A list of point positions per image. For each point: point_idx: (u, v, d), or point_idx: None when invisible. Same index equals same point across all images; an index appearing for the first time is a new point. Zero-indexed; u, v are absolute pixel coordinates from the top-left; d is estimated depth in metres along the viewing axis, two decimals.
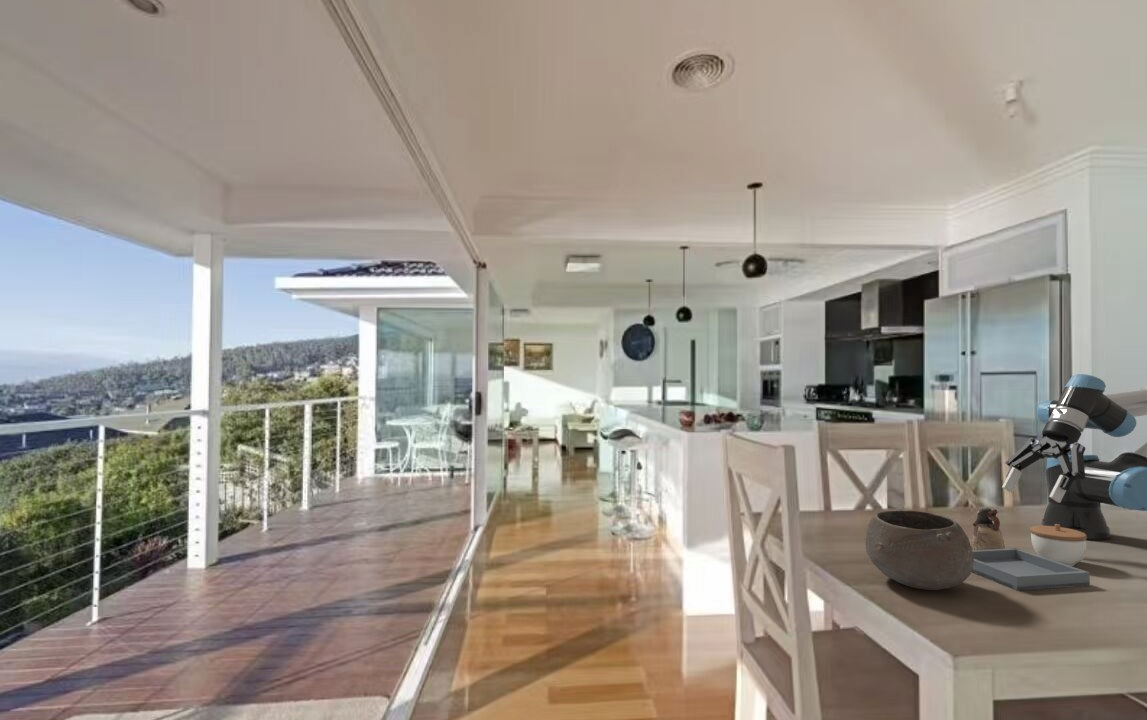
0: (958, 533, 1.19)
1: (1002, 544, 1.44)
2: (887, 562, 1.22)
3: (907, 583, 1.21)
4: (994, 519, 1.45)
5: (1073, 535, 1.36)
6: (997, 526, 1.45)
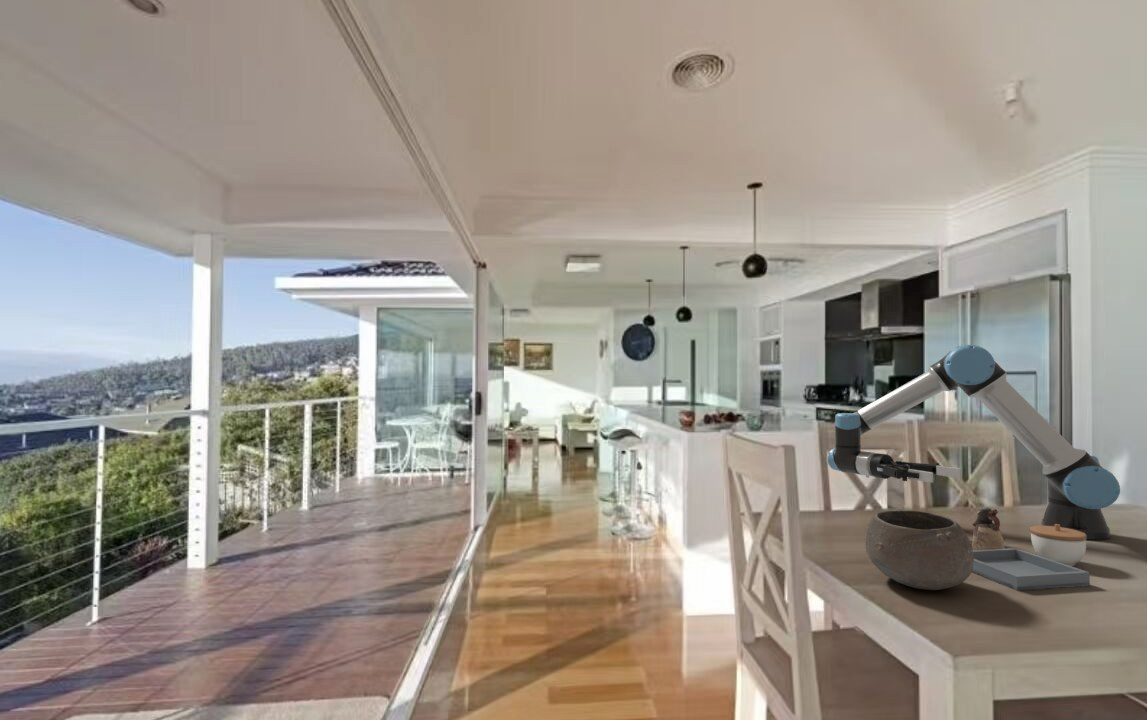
0: (958, 533, 1.19)
1: (1002, 544, 1.44)
2: (887, 562, 1.22)
3: (907, 583, 1.21)
4: (994, 519, 1.45)
5: (1073, 535, 1.36)
6: (997, 526, 1.45)
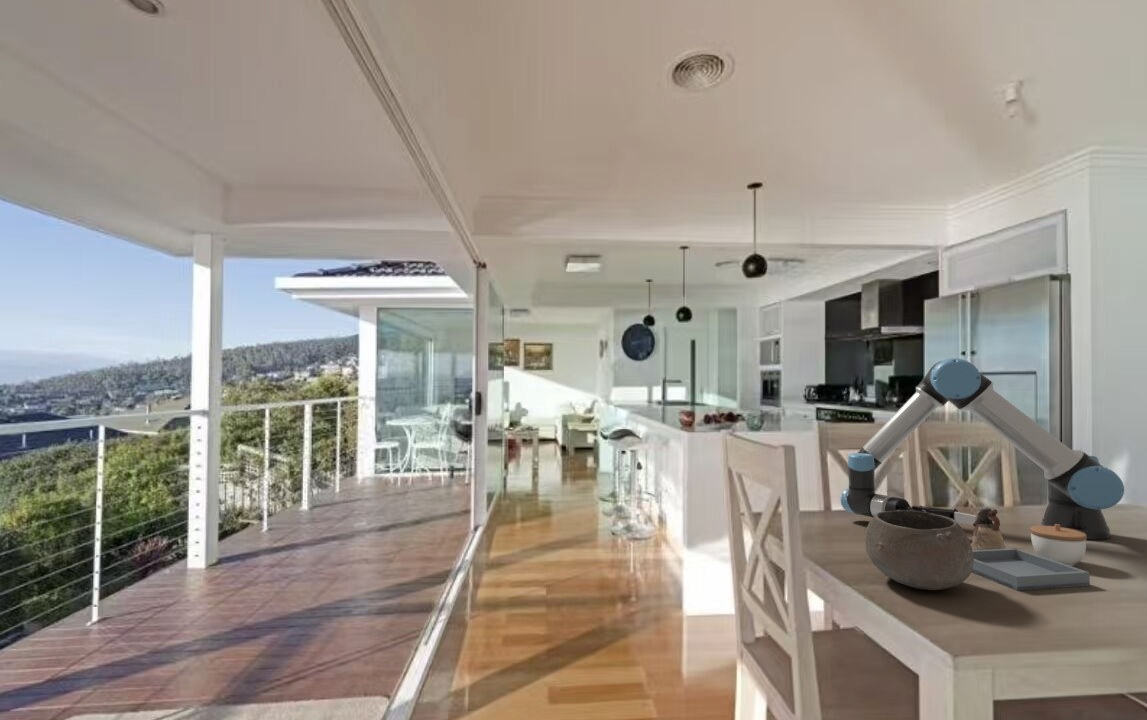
0: (958, 533, 1.19)
1: (1002, 544, 1.44)
2: (887, 562, 1.22)
3: (907, 583, 1.21)
4: (994, 519, 1.45)
5: (1073, 535, 1.36)
6: (997, 526, 1.45)
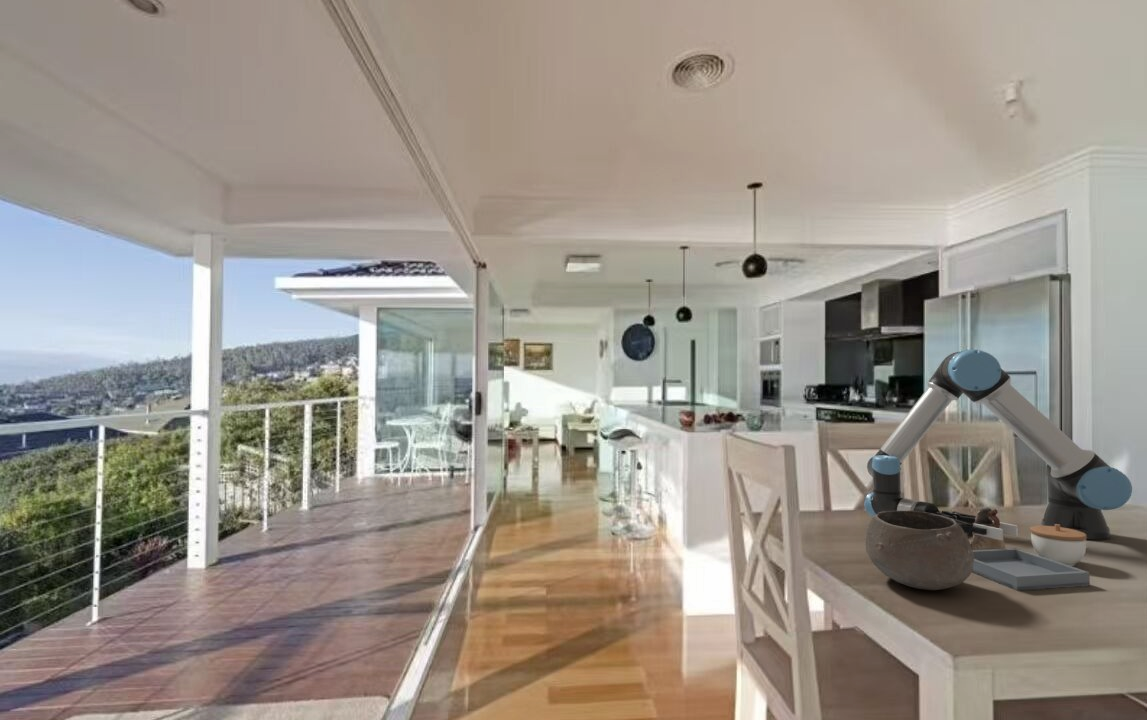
0: (958, 533, 1.19)
1: (1002, 544, 1.44)
2: (887, 562, 1.22)
3: (907, 583, 1.21)
4: (994, 519, 1.45)
5: (1073, 535, 1.36)
6: (997, 526, 1.45)
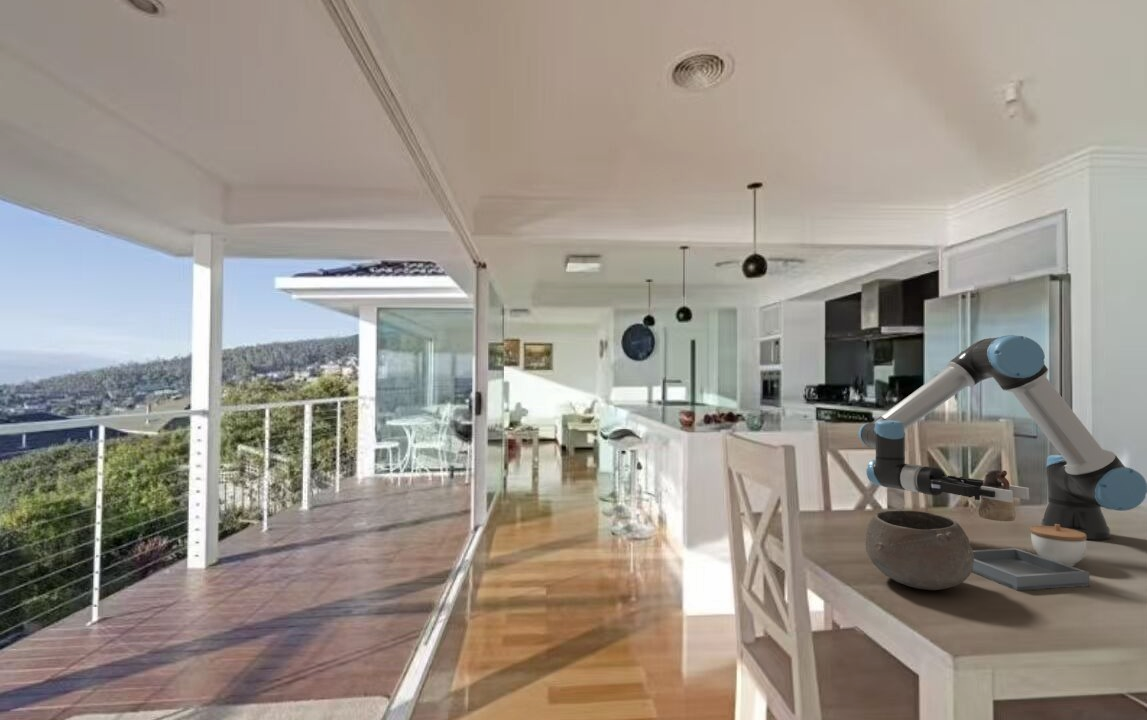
0: (958, 533, 1.19)
1: (1012, 507, 1.35)
2: (887, 562, 1.22)
3: (907, 583, 1.21)
4: (1003, 481, 1.36)
5: (1073, 535, 1.36)
6: (1006, 488, 1.35)
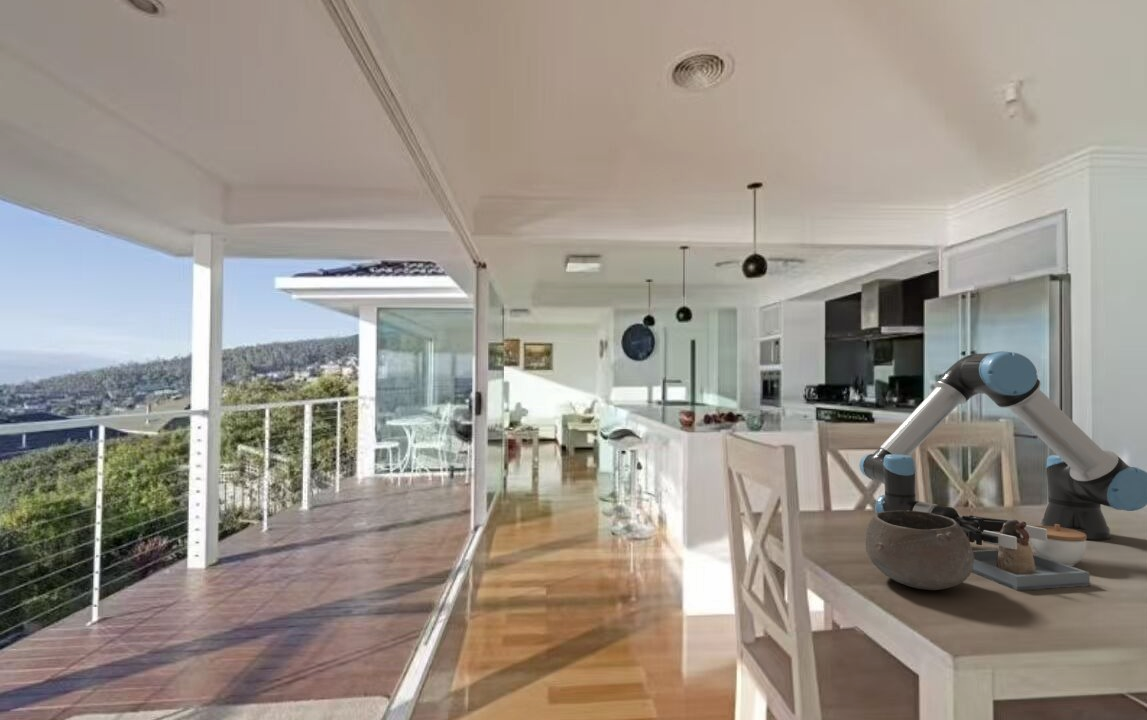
0: (958, 533, 1.19)
1: (1032, 561, 1.29)
2: (887, 562, 1.22)
3: (907, 583, 1.21)
4: (1023, 532, 1.29)
5: (1073, 535, 1.36)
6: (1026, 540, 1.29)
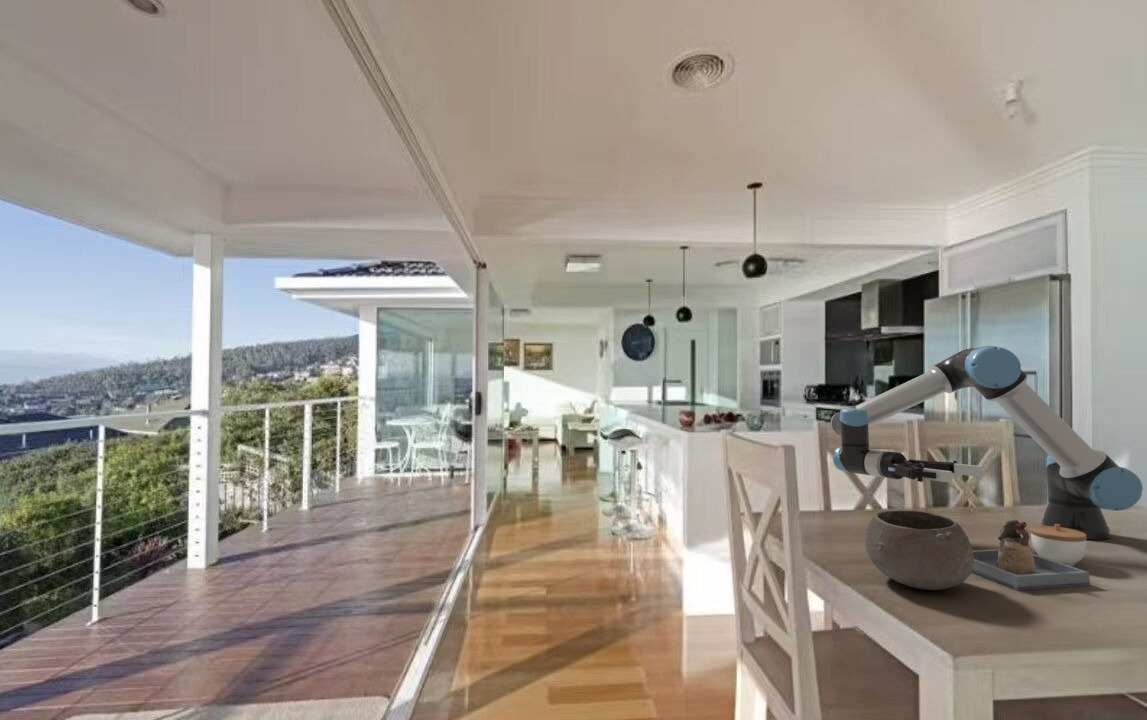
0: (958, 533, 1.19)
1: (1032, 561, 1.29)
2: (887, 562, 1.22)
3: (907, 583, 1.21)
4: (1023, 533, 1.29)
5: (1073, 535, 1.36)
6: (1026, 540, 1.29)
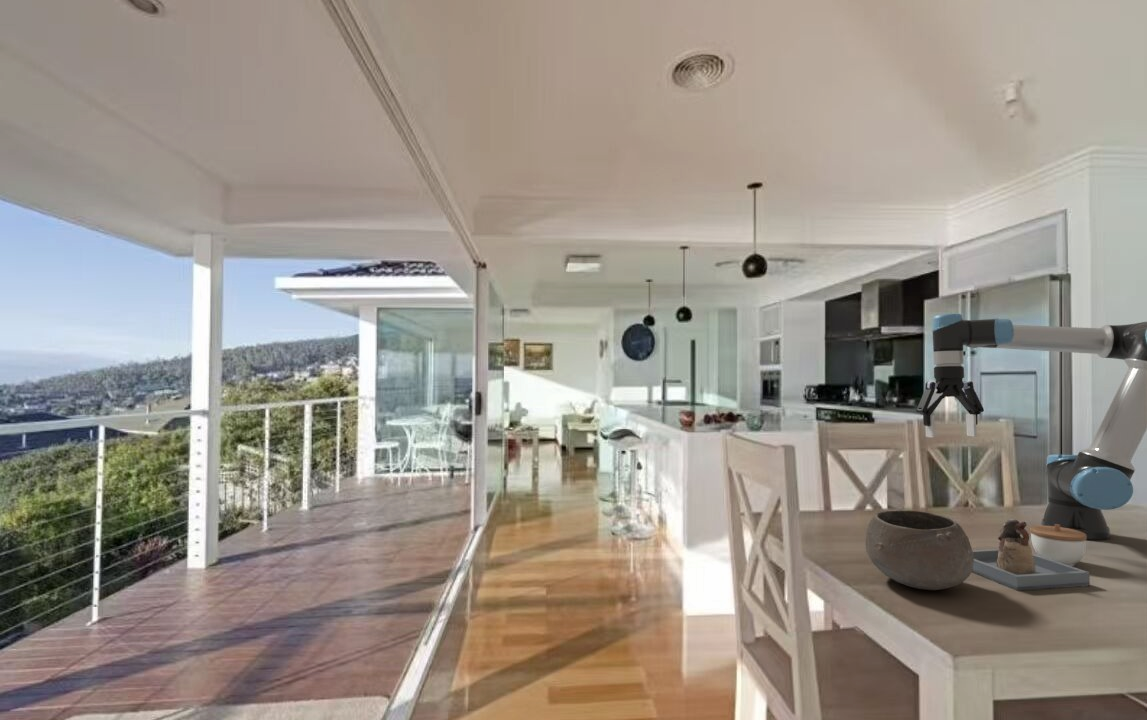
0: (958, 533, 1.19)
1: (1032, 561, 1.29)
2: (887, 562, 1.22)
3: (907, 583, 1.21)
4: (1023, 533, 1.29)
5: (1073, 535, 1.36)
6: (1026, 540, 1.29)
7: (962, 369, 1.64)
